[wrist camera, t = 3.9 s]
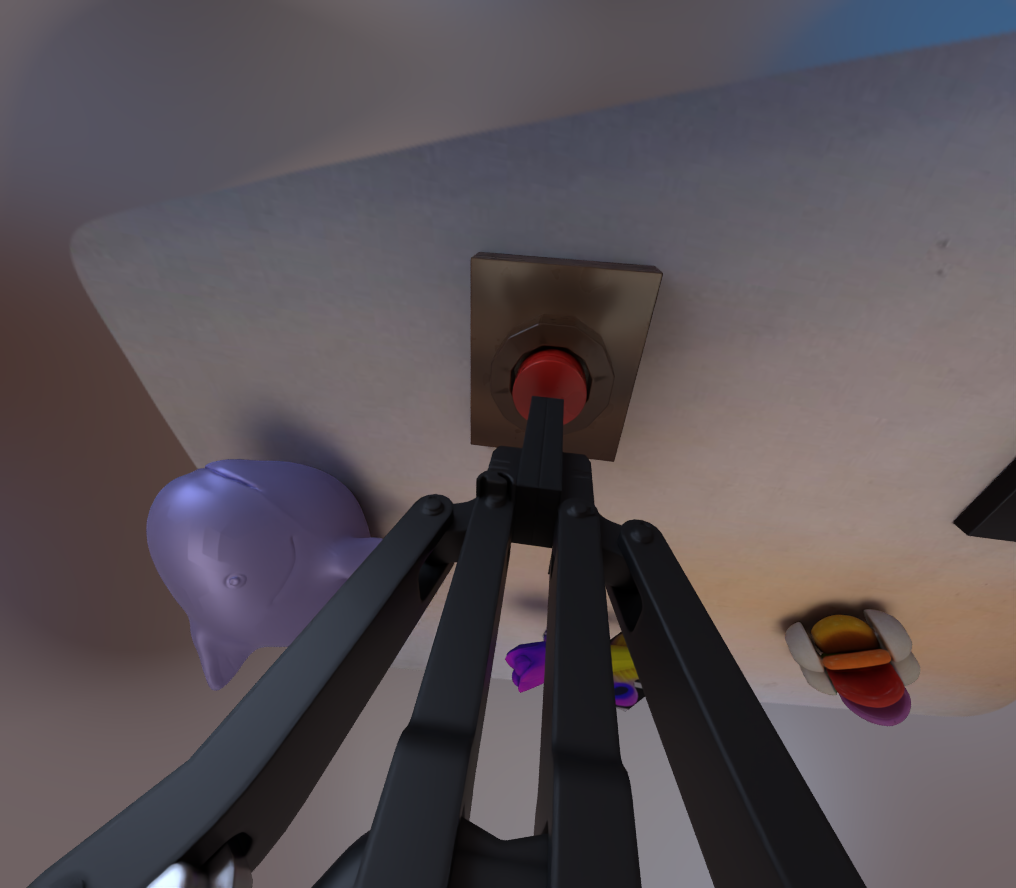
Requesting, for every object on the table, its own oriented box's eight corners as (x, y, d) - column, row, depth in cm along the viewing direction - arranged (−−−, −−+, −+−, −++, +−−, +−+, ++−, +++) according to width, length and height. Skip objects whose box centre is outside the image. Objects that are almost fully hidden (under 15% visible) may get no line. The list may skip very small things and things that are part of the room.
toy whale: (342, 414, 25) (64, 661, 15) (460, 598, 41) (361, 773, 31) (230, 396, 31) (-16, 562, 21) (370, 561, 47) (265, 698, 38)
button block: (478, 251, 22) (462, 262, 19) (655, 266, 21) (671, 280, 18) (476, 428, 29) (464, 459, 26) (611, 444, 28) (616, 478, 25)
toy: (505, 570, 35) (521, 688, 27) (694, 564, 39) (759, 669, 30) (494, 638, 42) (504, 750, 34) (656, 628, 45) (701, 728, 37)
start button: (518, 345, 21) (514, 356, 20) (591, 352, 21) (592, 364, 19) (513, 408, 23) (510, 423, 22) (579, 416, 23) (580, 431, 22)
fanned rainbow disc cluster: (881, 589, 32) (952, 681, 26) (901, 648, 36) (967, 741, 30) (771, 613, 36) (811, 699, 30) (800, 665, 40) (841, 750, 34)
